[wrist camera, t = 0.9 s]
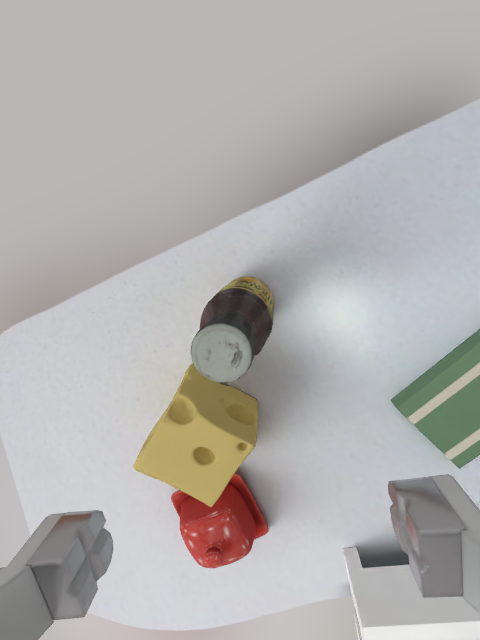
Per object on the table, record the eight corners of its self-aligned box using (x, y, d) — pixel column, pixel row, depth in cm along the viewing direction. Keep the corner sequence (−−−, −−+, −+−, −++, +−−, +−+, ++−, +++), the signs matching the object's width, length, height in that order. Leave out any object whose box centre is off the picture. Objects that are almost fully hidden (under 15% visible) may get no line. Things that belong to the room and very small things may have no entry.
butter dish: (240, 464, 45) (234, 514, 37) (272, 526, 48) (273, 586, 39) (169, 487, 47) (149, 540, 39) (203, 546, 50) (191, 607, 41)
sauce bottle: (283, 301, 39) (300, 365, 20) (246, 334, 40) (228, 423, 21) (246, 261, 38) (227, 288, 19) (210, 297, 40) (157, 354, 20)
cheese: (193, 359, 42) (171, 396, 32) (263, 400, 43) (262, 448, 33) (158, 418, 45) (128, 469, 35) (224, 456, 45) (213, 515, 36)
